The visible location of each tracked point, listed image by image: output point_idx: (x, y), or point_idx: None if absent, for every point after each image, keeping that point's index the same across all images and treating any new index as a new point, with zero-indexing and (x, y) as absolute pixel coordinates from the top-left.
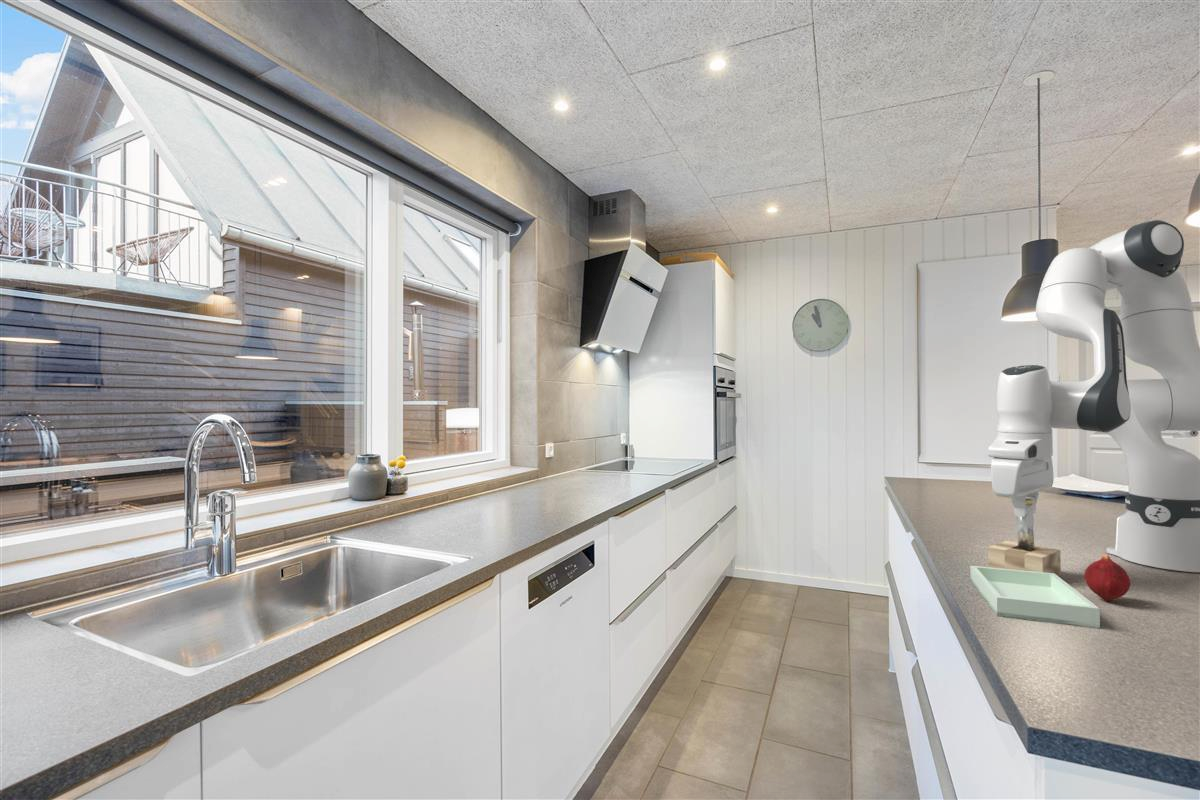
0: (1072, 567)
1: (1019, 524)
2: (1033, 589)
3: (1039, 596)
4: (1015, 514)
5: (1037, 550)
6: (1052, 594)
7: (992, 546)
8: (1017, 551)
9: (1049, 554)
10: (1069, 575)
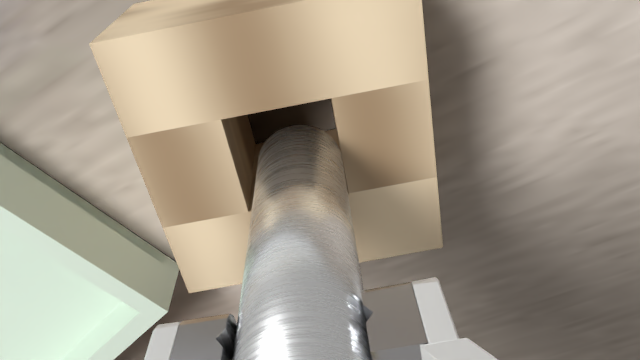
0: (606, 130)
1: (246, 252)
2: (53, 267)
3: (2, 313)
4: (156, 334)
5: None
6: (72, 317)
7: (139, 45)
8: (183, 180)
9: None
10: (445, 189)
